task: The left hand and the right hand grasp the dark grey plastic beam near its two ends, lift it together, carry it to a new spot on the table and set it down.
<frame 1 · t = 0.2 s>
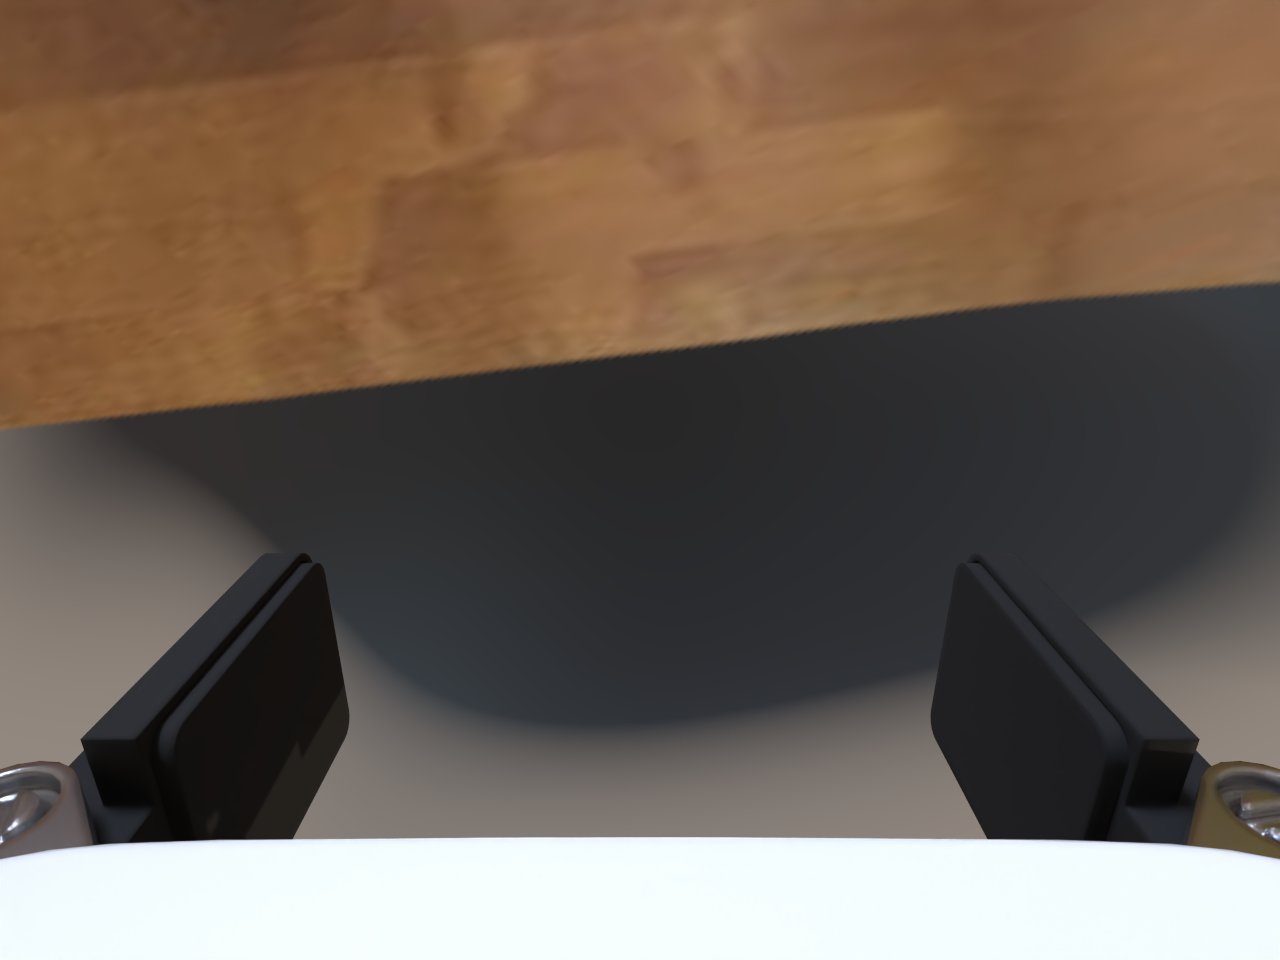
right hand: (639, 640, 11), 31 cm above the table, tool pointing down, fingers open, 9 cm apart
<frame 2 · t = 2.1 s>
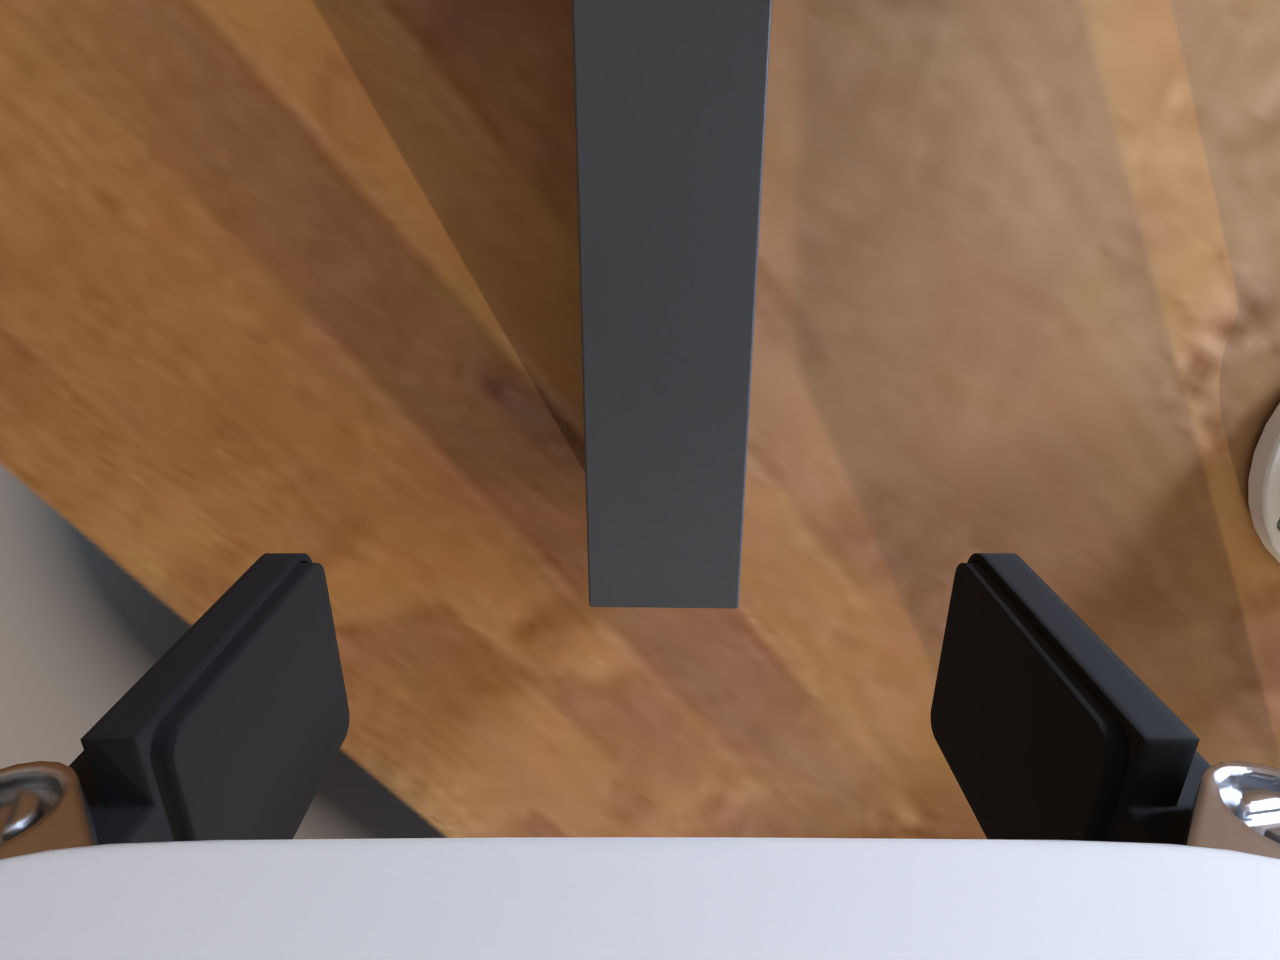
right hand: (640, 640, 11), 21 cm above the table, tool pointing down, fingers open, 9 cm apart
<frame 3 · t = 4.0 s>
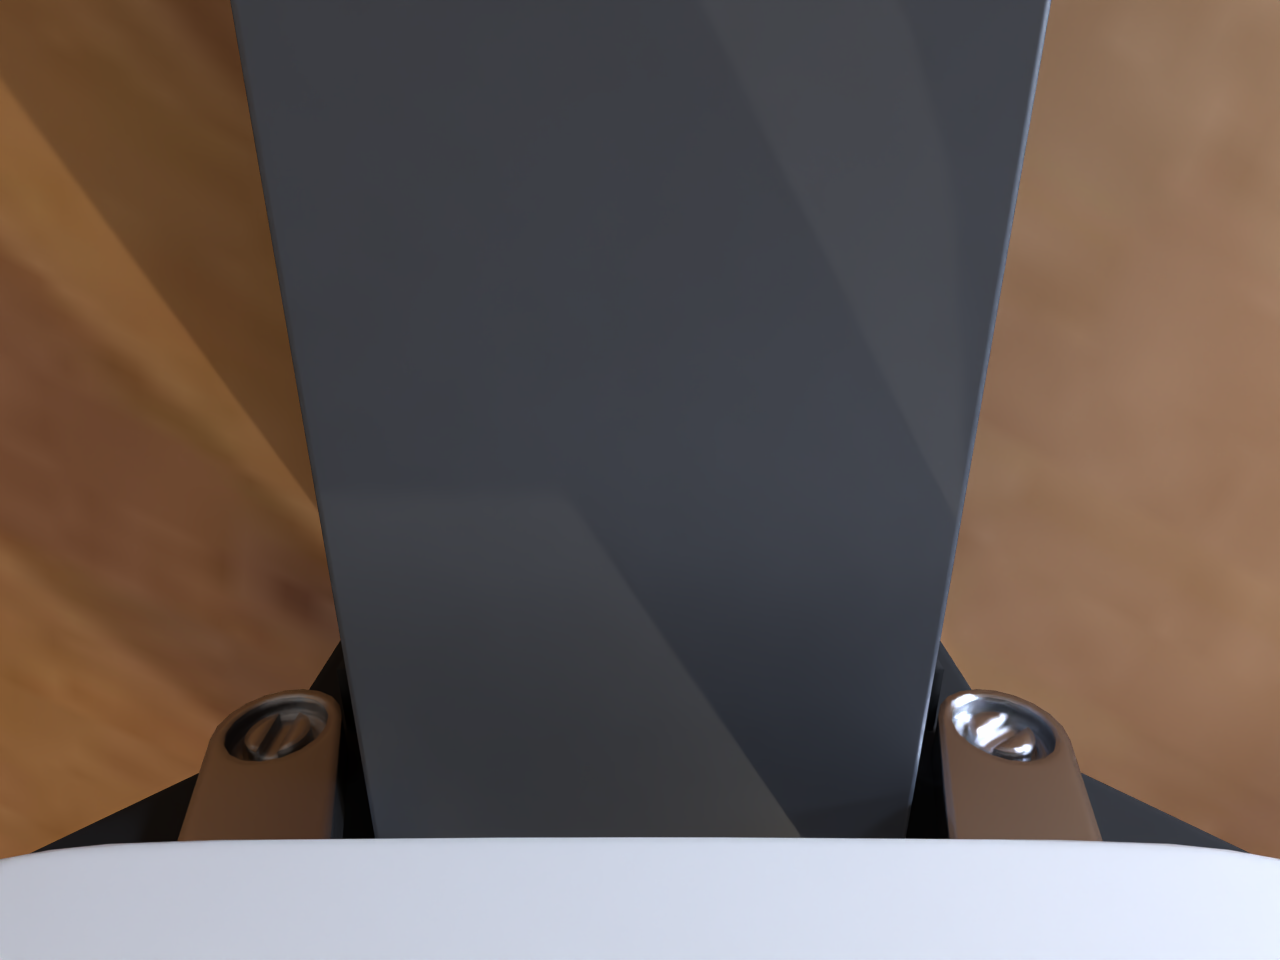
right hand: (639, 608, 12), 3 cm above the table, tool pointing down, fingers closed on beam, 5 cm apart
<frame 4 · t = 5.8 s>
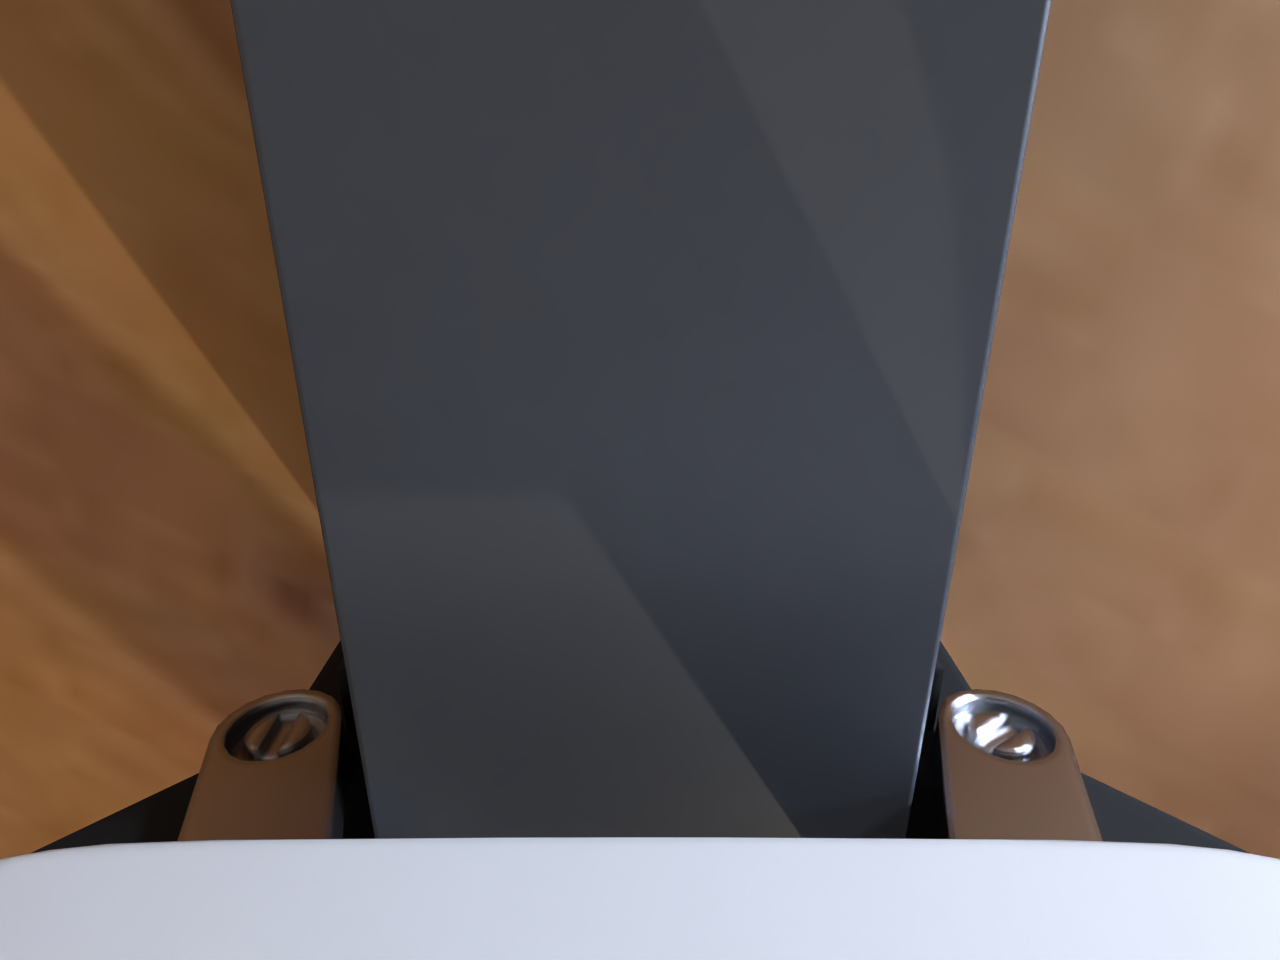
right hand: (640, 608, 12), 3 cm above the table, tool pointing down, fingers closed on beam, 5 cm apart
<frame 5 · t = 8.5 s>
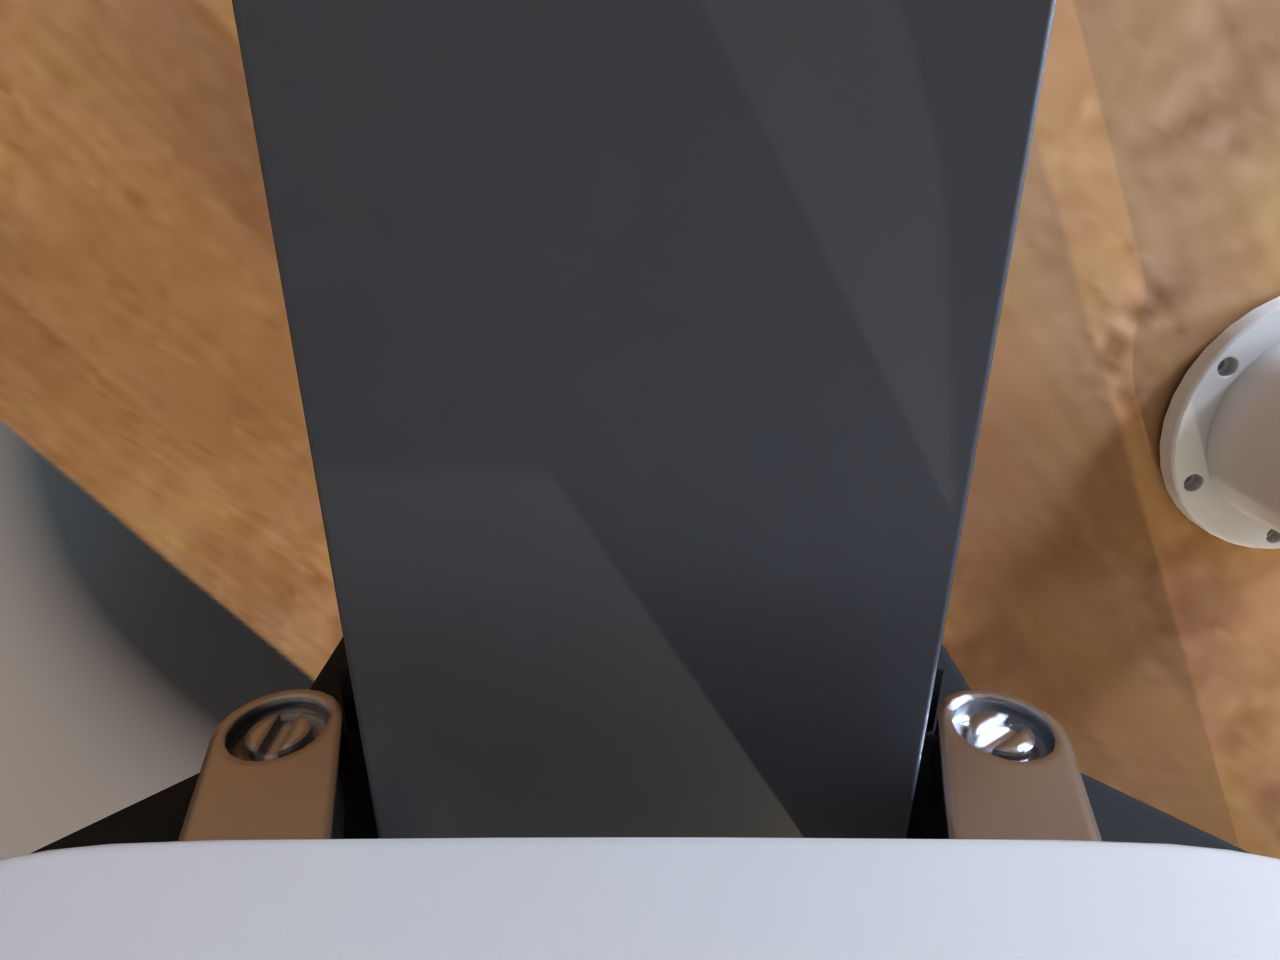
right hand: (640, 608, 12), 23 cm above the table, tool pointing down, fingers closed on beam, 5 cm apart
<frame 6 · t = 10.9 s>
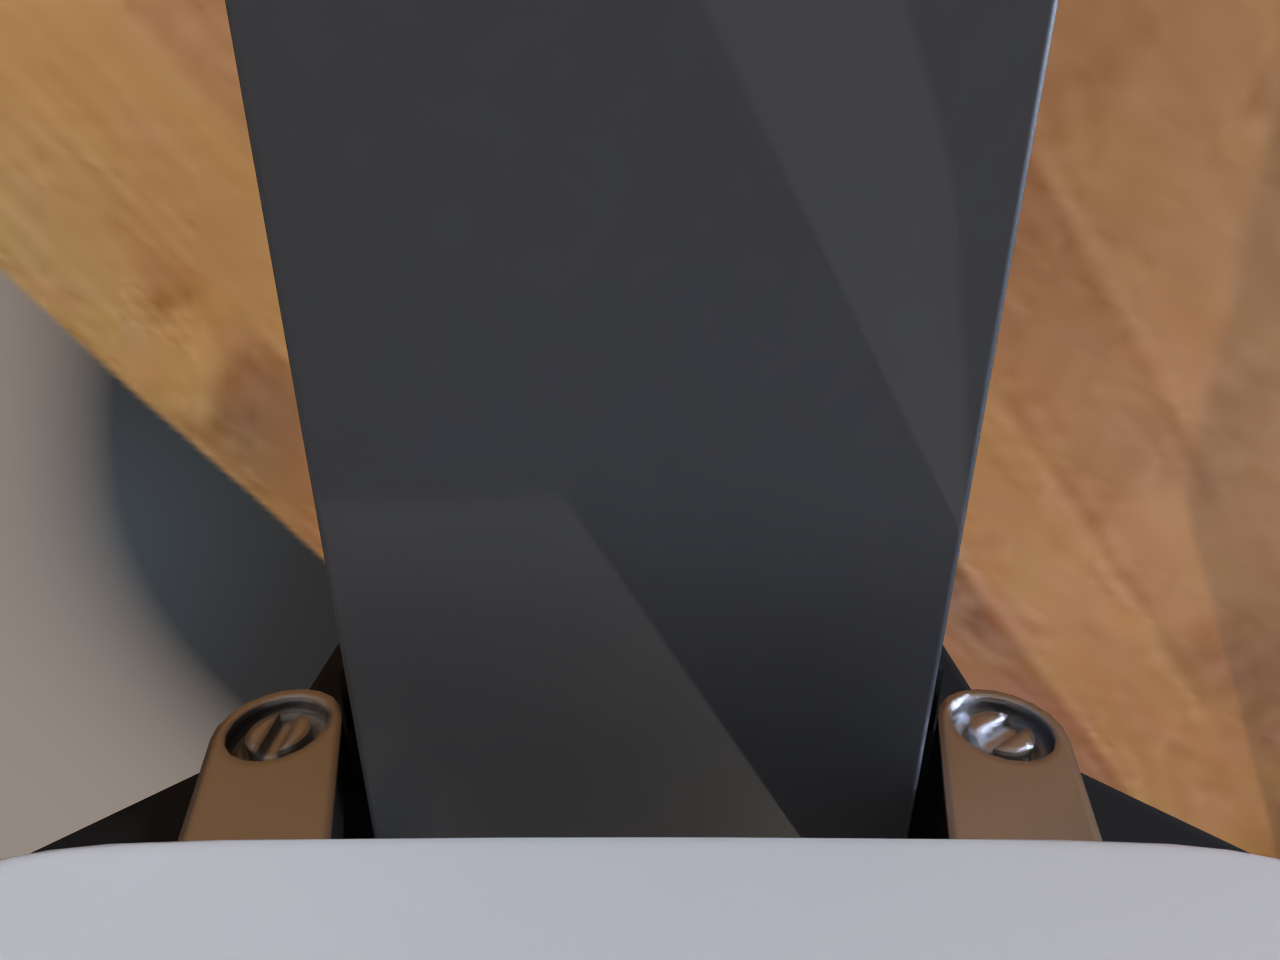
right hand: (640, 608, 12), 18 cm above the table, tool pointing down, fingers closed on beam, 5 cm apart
when the left hand's fingers open (2 cm above the table, at t = 12.9 s): beam stays where it is, on the table.
when the right hand's fingers open (4 cm above the table, at t = 13.0 s): beam stays where it is, on the table.
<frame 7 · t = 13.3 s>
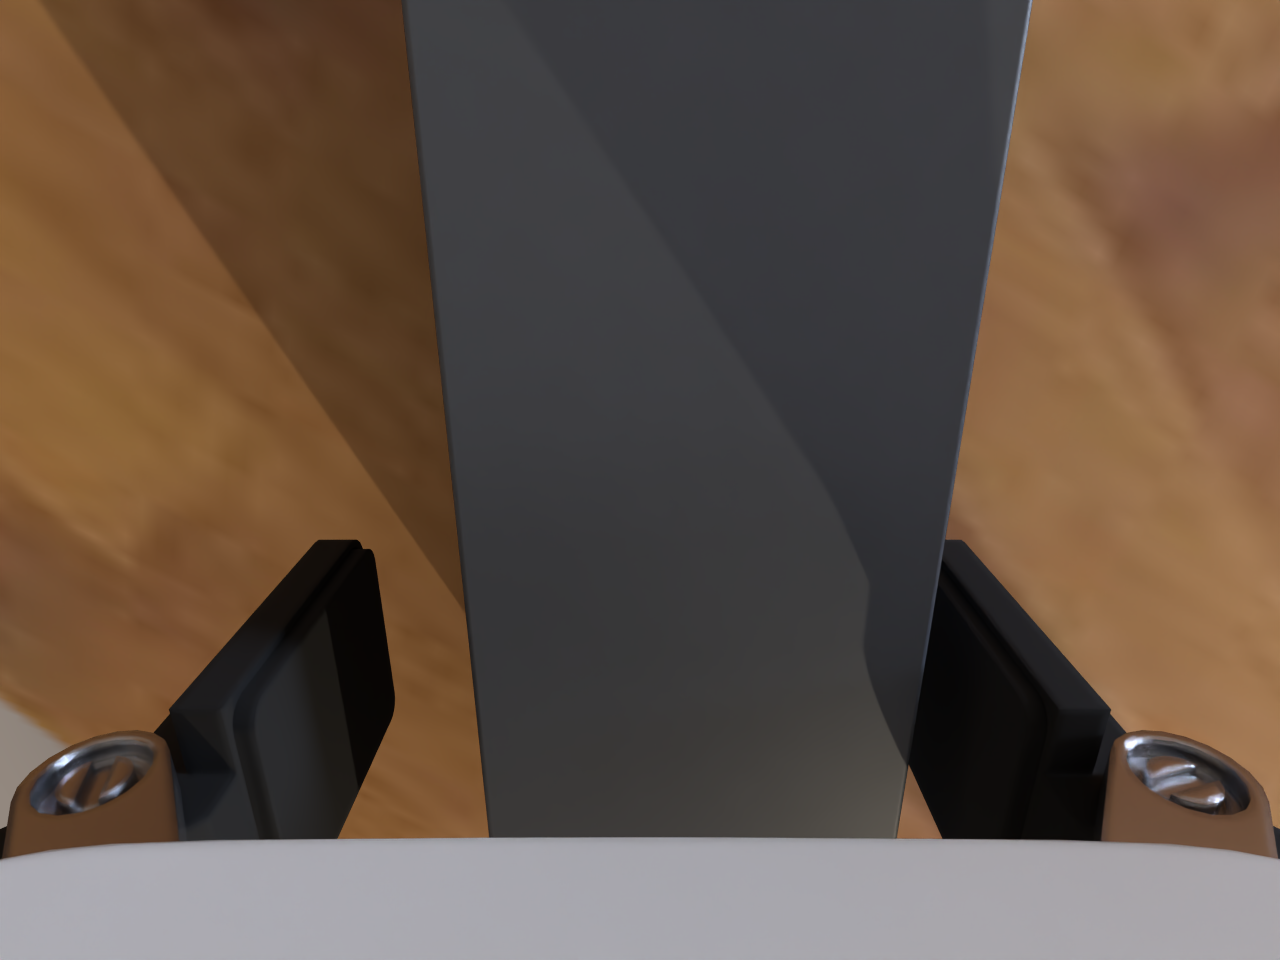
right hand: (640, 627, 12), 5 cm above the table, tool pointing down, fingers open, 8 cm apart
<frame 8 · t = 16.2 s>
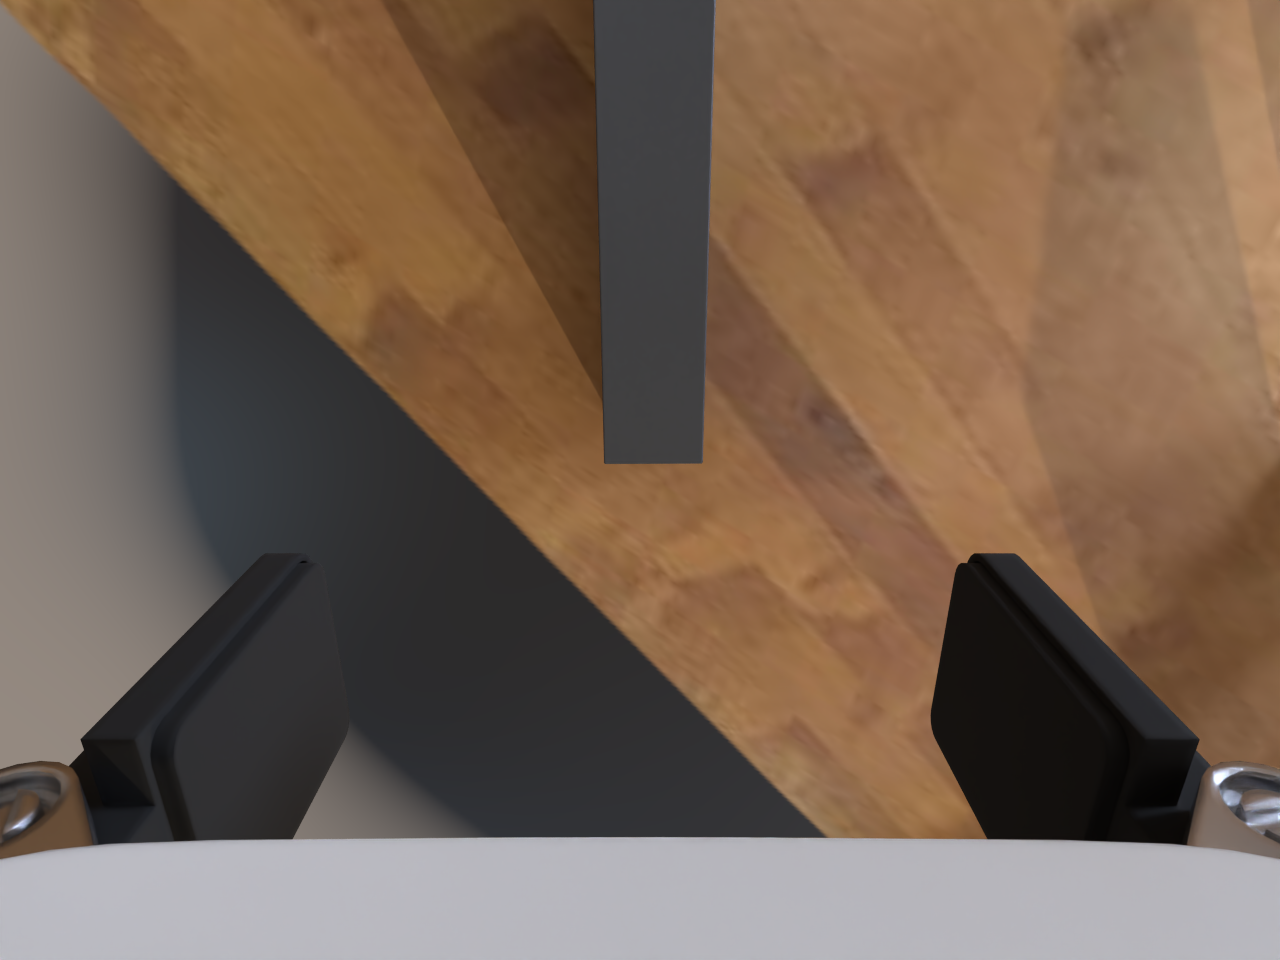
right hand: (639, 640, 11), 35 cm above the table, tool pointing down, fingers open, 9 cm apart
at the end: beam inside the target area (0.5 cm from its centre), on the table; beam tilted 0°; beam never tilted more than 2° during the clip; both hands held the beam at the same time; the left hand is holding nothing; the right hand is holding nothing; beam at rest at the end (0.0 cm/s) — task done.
